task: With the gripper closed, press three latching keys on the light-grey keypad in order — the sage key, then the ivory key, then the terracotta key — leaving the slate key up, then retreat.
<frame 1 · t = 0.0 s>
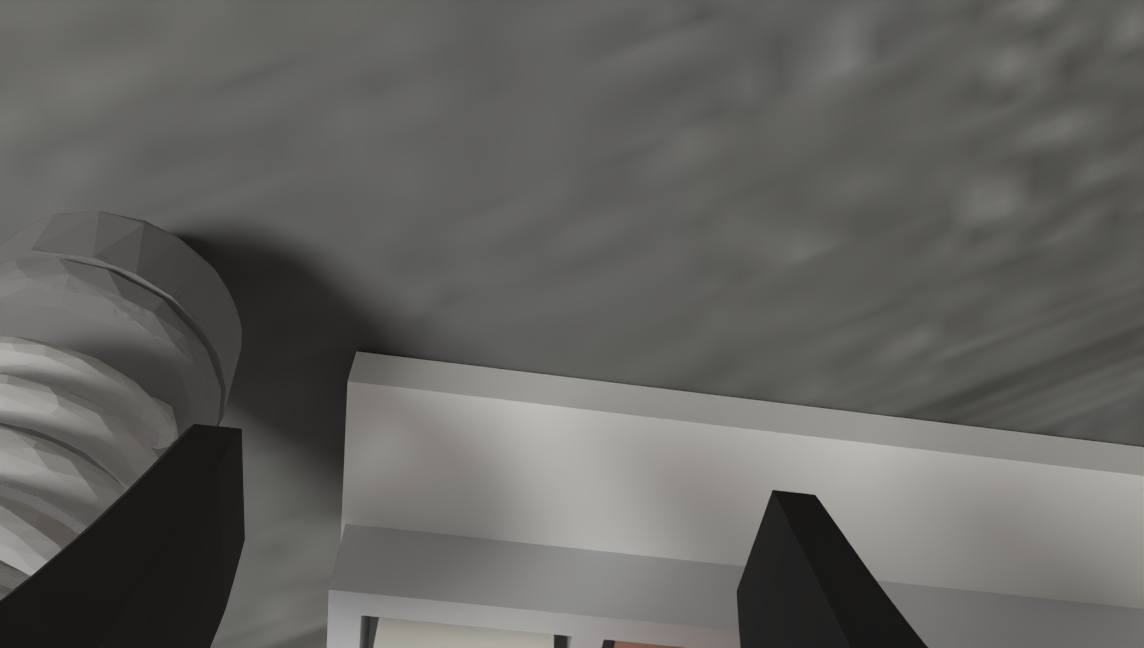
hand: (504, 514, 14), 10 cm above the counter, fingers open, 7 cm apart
light bulb: (163, 251, 24), on the counter
keypad: (772, 622, 30), on the counter
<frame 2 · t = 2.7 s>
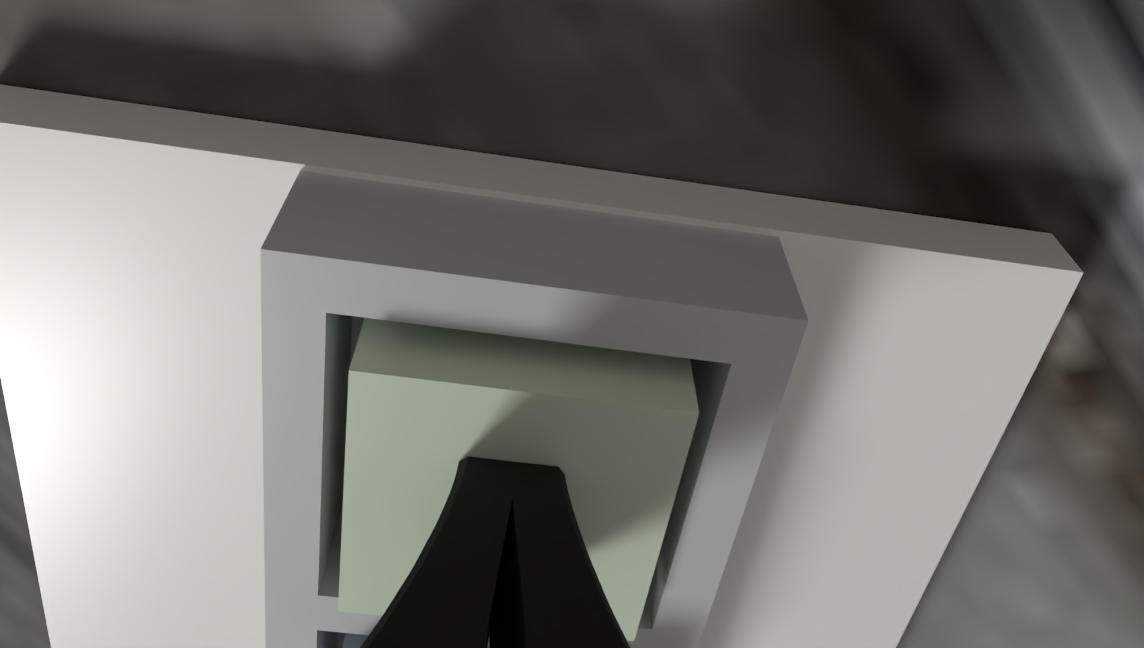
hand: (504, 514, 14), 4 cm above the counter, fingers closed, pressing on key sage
key sage: (509, 465, 15), point 3 cm above the counter, slide at 1.2 cm, touching gripper
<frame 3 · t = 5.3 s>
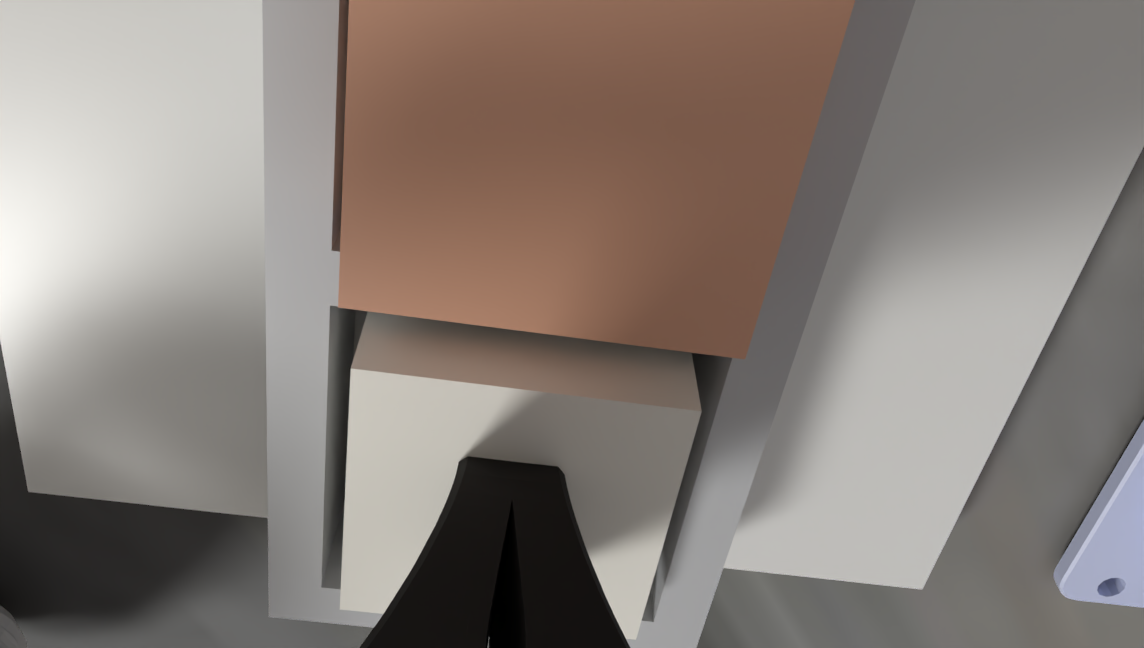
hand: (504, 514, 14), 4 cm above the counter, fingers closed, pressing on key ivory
key ivory: (511, 463, 15), point 3 cm above the counter, slide at 1.1 cm, touching gripper
key terracotta: (576, 102, 11), point 4 cm above the counter, slide at 0.0 cm
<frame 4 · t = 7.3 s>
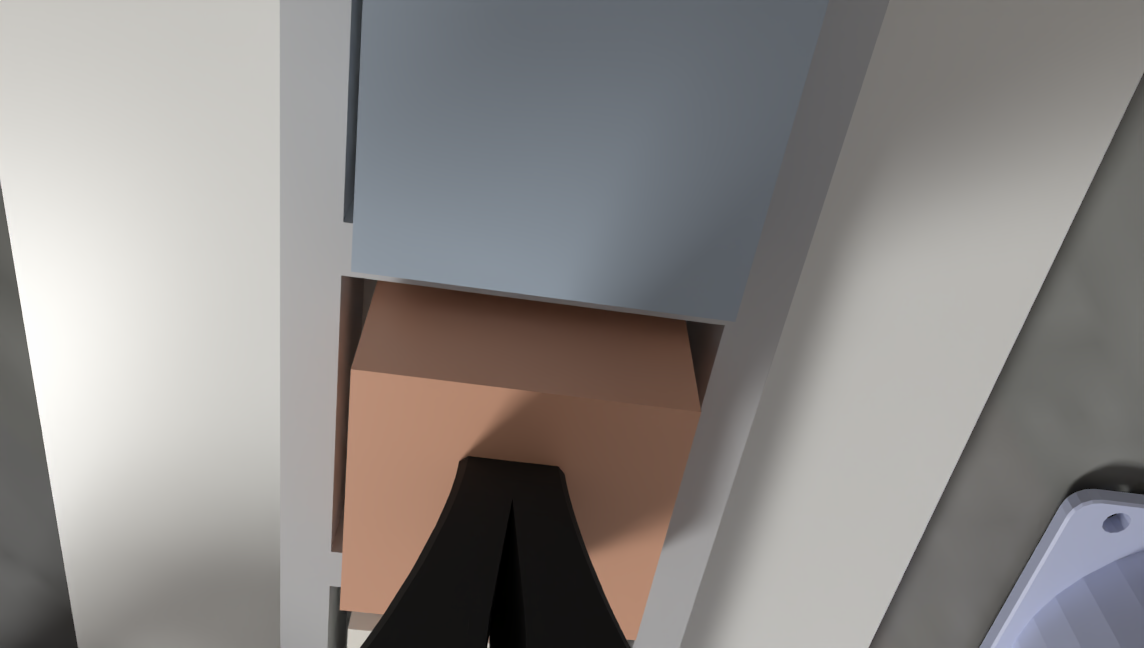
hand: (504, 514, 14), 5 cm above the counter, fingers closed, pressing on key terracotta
keypad: (545, 166, 16), on the counter
key terracotta: (511, 464, 15), point 4 cm above the counter, slide at 0.3 cm, touching gripper
key slate: (576, 77, 11), point 4 cm above the counter, slide at 0.0 cm
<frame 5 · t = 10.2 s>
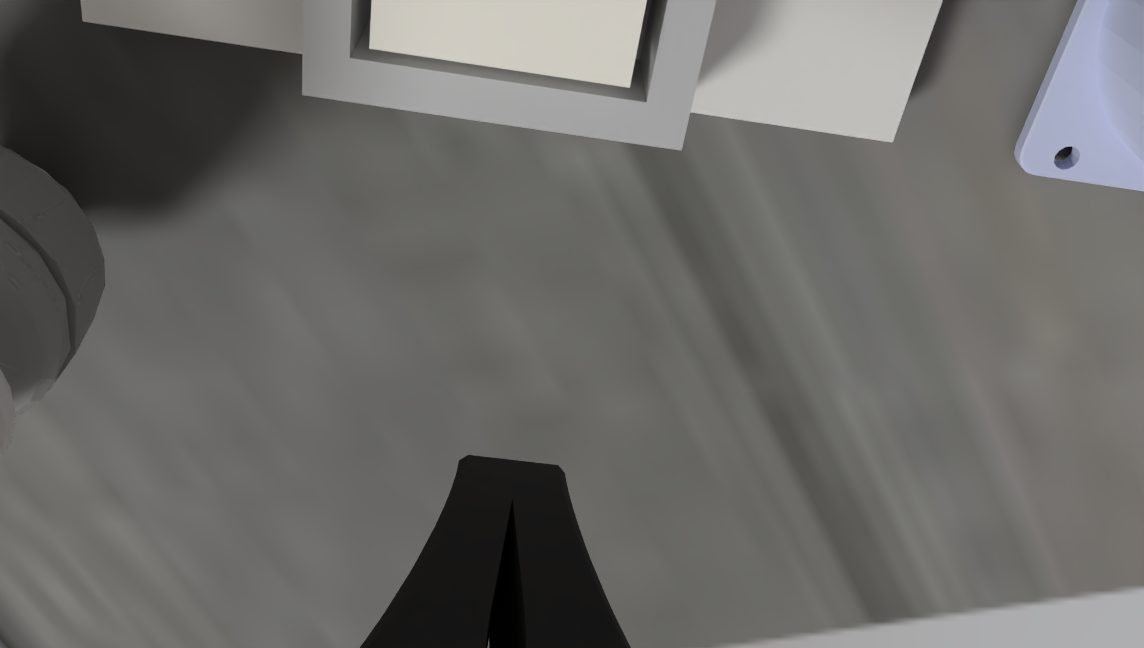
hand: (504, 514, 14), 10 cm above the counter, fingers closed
light bulb: (37, 185, 23), on the counter
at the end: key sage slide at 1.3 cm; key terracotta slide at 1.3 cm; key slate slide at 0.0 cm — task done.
